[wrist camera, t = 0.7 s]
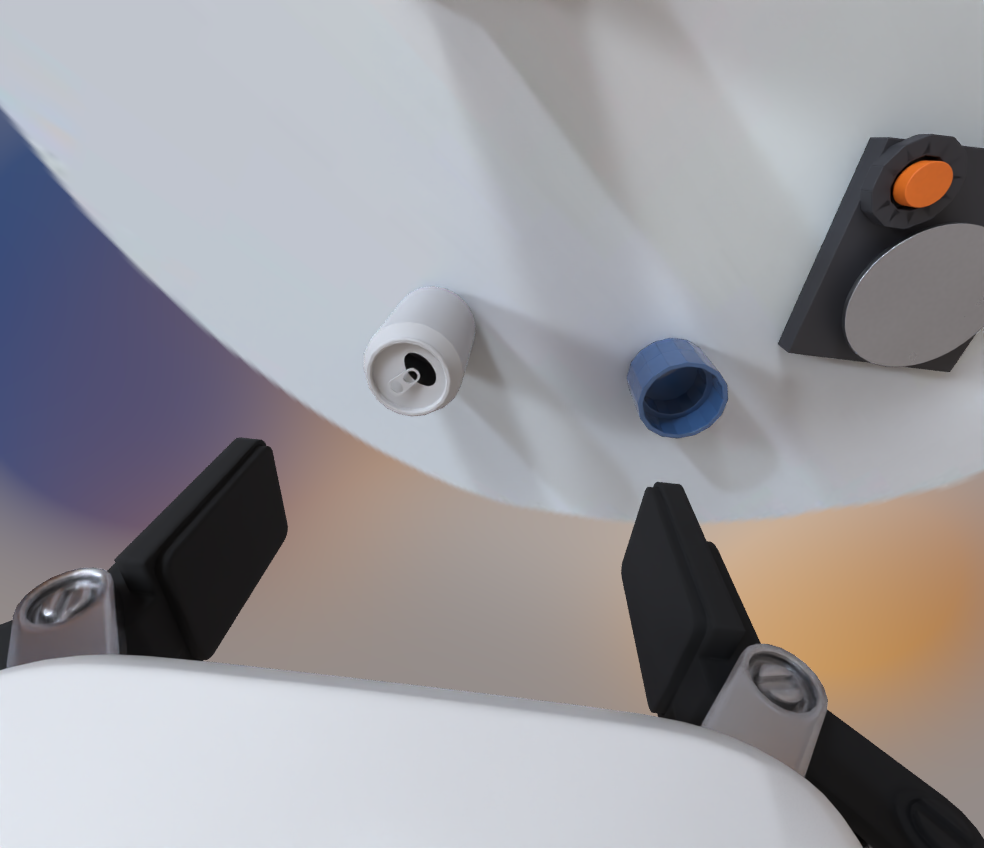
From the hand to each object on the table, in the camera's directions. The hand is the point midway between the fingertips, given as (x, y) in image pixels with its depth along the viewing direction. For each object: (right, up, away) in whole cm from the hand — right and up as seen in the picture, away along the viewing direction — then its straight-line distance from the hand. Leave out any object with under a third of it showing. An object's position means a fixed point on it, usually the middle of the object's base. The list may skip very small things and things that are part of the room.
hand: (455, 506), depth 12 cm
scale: (+34, +15, +26) cm, 46 cm away
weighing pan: (+34, +12, +24) cm, 43 cm away
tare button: (+30, +19, +21) cm, 41 cm away
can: (-4, +12, +32) cm, 34 cm away
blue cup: (+17, +7, +33) cm, 38 cm away
